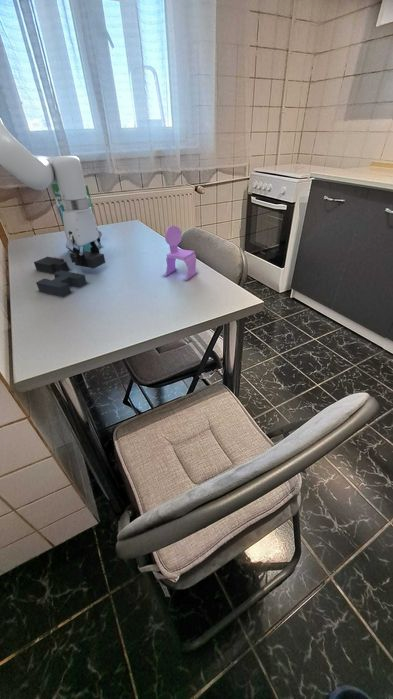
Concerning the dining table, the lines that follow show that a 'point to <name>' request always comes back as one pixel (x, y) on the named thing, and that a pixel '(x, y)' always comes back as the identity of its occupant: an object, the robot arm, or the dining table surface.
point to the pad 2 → (90, 259)
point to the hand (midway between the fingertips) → (90, 262)
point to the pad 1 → (51, 265)
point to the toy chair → (178, 252)
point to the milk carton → (61, 209)
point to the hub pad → (61, 283)
